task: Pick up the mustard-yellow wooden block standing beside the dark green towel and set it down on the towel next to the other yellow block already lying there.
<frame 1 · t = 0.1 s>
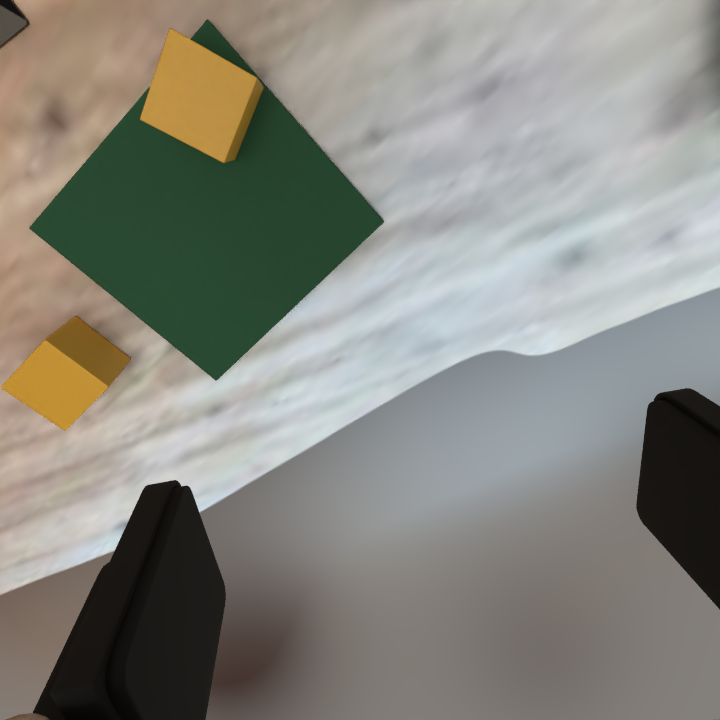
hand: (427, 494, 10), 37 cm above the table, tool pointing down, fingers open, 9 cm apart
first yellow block: (213, 104, 39), point 1 cm above the table, touching towel
yellow block: (84, 358, 47), on the table
towel: (213, 223, 43), on the table
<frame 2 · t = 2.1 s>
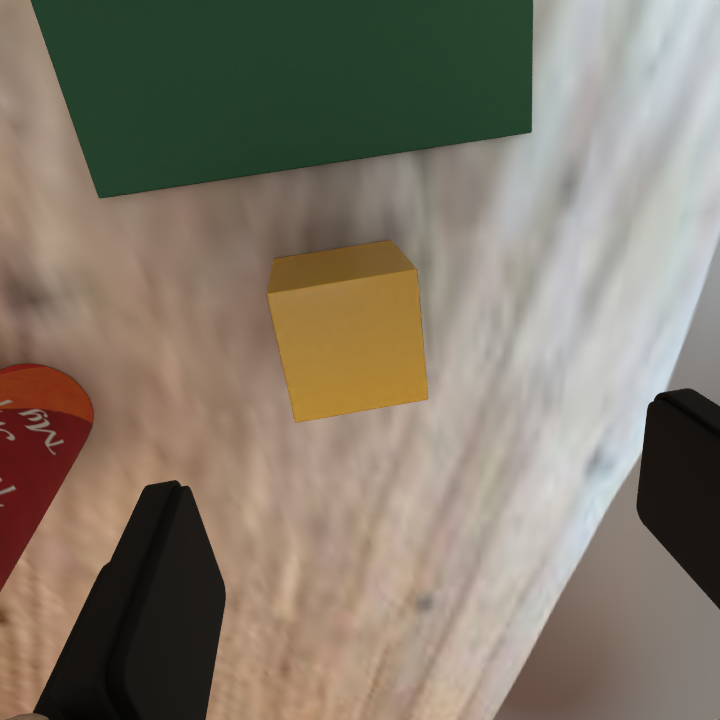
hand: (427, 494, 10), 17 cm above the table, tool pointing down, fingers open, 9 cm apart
paper cup: (39, 408, 27), on the table
yellow block: (341, 305, 26), on the table
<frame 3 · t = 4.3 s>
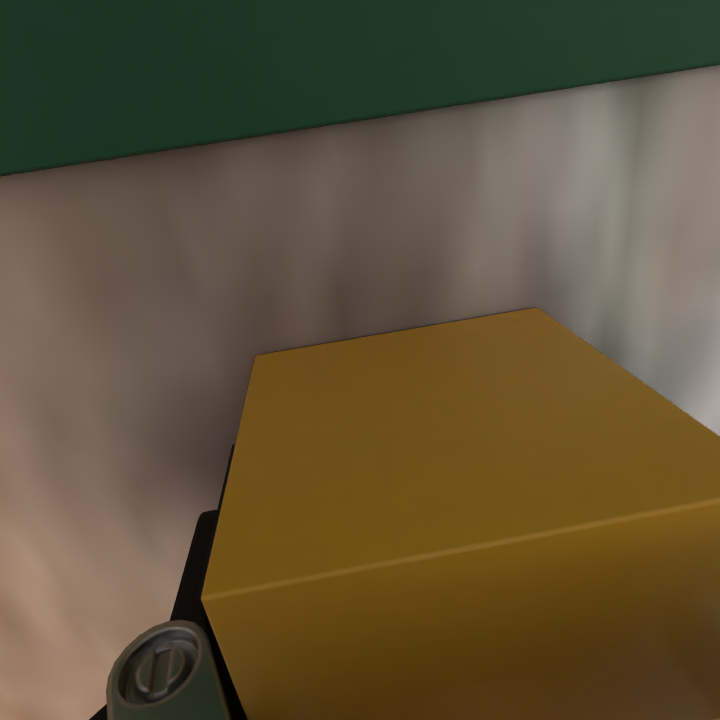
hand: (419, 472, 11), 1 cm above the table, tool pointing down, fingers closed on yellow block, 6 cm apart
yellow block: (411, 449, 12), on the table, touching gripper
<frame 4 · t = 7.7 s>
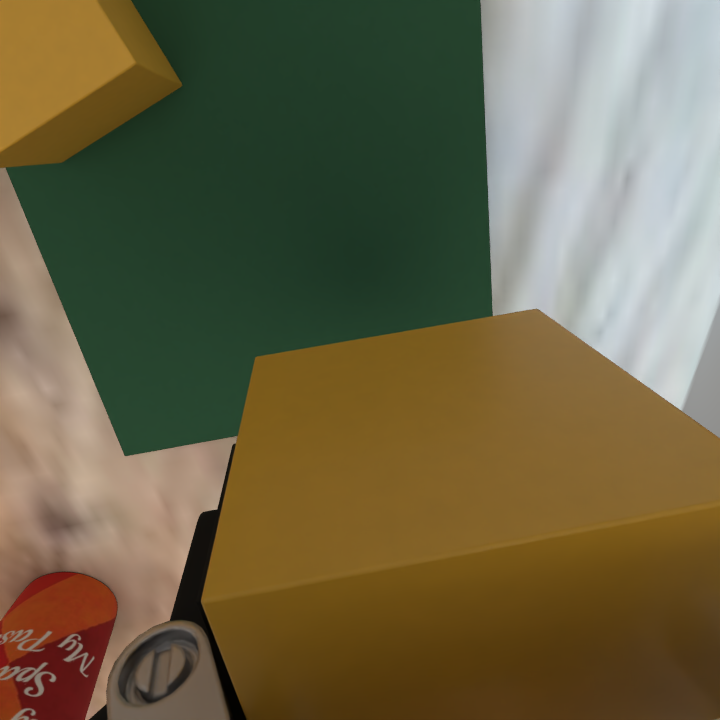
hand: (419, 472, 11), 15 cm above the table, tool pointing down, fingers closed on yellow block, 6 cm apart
paper cup: (70, 602, 31), on the table
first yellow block: (68, 48, 19), point 1 cm above the table, touching towel
yellow block: (411, 450, 12), point 14 cm above the table, touching gripper
towel: (267, 209, 22), on the table
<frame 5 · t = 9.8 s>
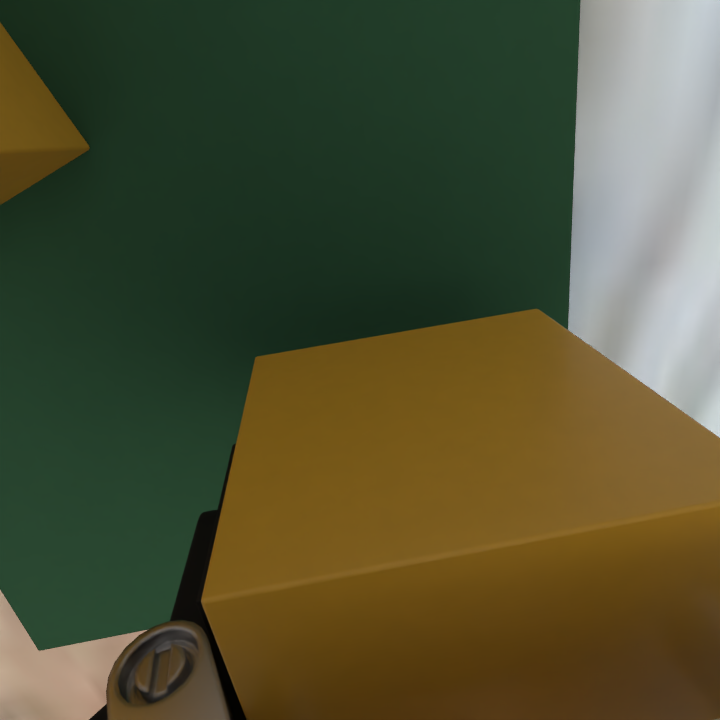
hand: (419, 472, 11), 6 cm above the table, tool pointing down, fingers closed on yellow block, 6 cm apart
yellow block: (411, 450, 12), point 5 cm above the table, touching gripper
towel: (236, 325, 15), on the table
when the fingers open (1 cm above the table, at t = 11.4 s): yellow block stays where it is, resting on towel.
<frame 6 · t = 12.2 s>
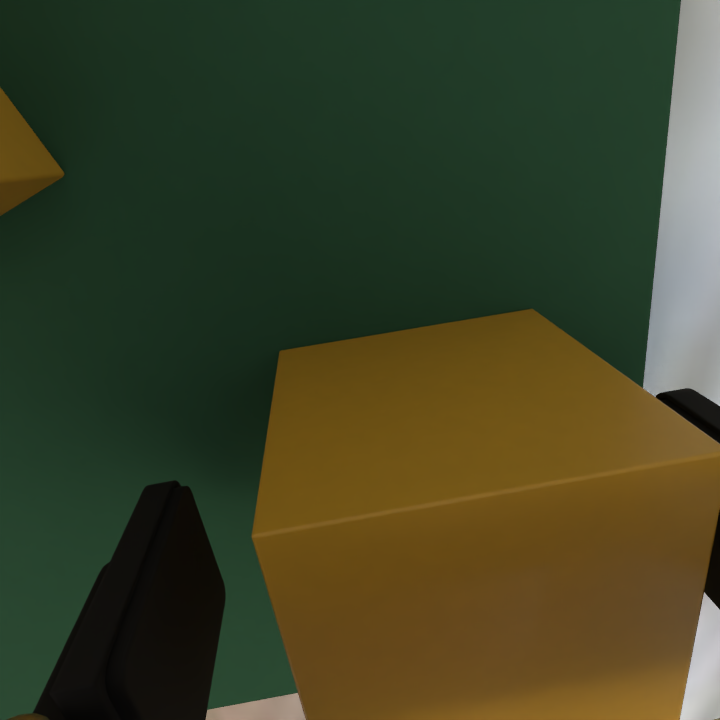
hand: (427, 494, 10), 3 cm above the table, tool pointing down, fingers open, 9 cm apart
yellow block: (418, 437, 13), point 1 cm above the table, touching towel
towel: (244, 381, 12), on the table
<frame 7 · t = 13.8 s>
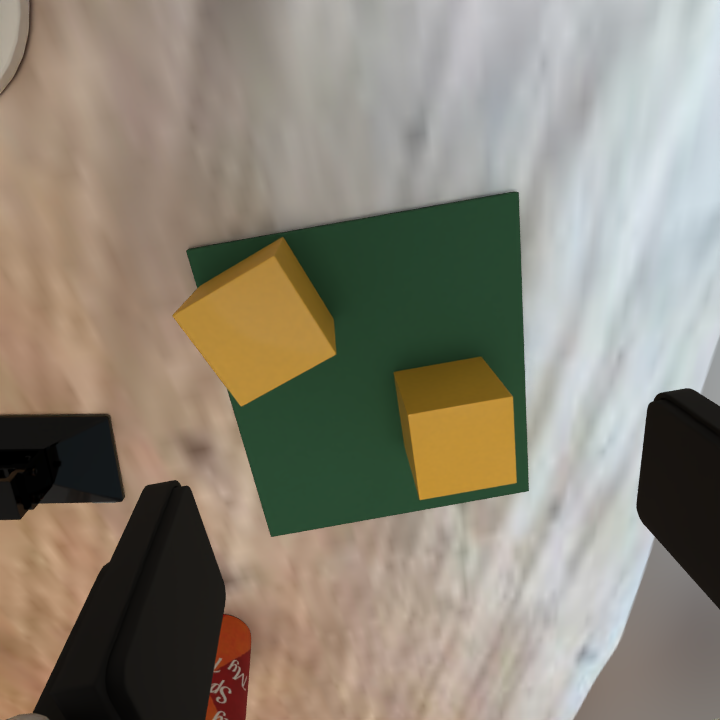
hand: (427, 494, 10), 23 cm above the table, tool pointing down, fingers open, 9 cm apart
paper cup: (217, 635, 42), on the table
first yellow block: (268, 303, 31), point 1 cm above the table, touching towel
yellow block: (441, 403, 34), point 1 cm above the table, touching towel
towel: (378, 382, 34), on the table
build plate: (26, 458, 35), on the table
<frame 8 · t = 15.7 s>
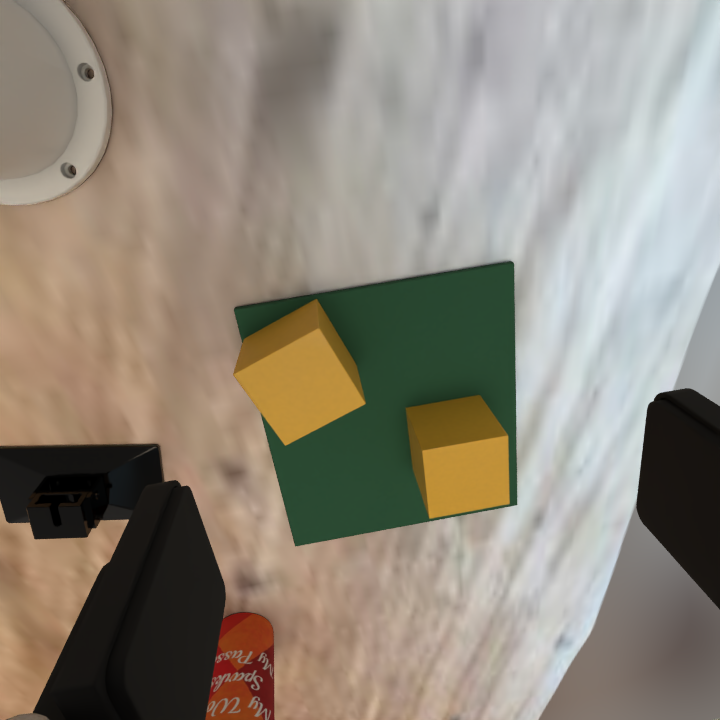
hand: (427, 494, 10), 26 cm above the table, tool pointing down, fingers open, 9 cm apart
paper cup: (243, 631, 48), on the table
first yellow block: (301, 352, 36), point 1 cm above the table, touching towel
yellow block: (445, 433, 40), point 1 cm above the table, touching towel
towel: (391, 415, 40), on the table
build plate: (83, 481, 40), on the table
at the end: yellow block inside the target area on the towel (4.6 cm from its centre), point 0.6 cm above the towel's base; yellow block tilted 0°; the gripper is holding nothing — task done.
